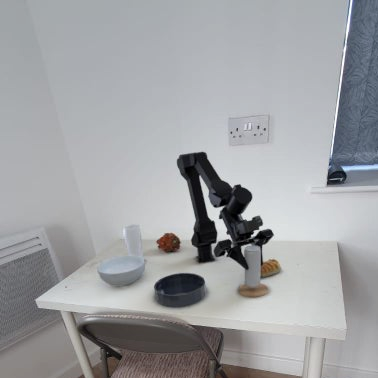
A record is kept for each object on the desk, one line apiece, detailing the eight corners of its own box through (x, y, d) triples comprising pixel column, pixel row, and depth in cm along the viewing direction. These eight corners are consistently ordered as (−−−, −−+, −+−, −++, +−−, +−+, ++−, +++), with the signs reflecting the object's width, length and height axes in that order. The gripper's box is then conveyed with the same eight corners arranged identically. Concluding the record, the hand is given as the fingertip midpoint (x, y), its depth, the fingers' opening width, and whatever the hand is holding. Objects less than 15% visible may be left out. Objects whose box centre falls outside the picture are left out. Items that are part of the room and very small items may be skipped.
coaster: (235, 286, 106) (235, 285, 106) (261, 282, 107) (261, 281, 107) (243, 299, 98) (243, 298, 98) (272, 294, 99) (272, 293, 99)
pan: (154, 287, 112) (152, 277, 110) (200, 280, 113) (199, 269, 111) (157, 311, 97) (155, 299, 95) (210, 302, 99) (209, 290, 97)
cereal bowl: (92, 289, 116) (86, 271, 112) (117, 270, 129) (113, 253, 125) (133, 293, 109) (128, 274, 106) (155, 273, 123) (152, 255, 119)
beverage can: (254, 279, 104) (254, 243, 98) (263, 285, 100) (264, 248, 94) (241, 283, 103) (241, 247, 97) (250, 289, 99) (249, 252, 93)
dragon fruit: (182, 256, 139) (160, 257, 146) (187, 239, 142) (165, 241, 149) (171, 244, 133) (149, 246, 139) (177, 227, 136) (155, 230, 142)
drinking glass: (126, 265, 133) (118, 229, 126) (134, 258, 138) (127, 223, 131) (140, 266, 130) (133, 229, 123) (148, 259, 136) (142, 224, 128)
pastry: (264, 280, 108) (264, 269, 106) (249, 274, 113) (249, 264, 111) (282, 270, 113) (283, 260, 111) (267, 266, 117) (267, 256, 116)
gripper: (215, 214, 91) (237, 263, 87) (271, 201, 96) (293, 247, 93) (205, 234, 101) (224, 279, 97) (255, 222, 107) (275, 264, 103)
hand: (254, 267), depth 97 cm, fingers closed on beverage can, 5 cm apart
